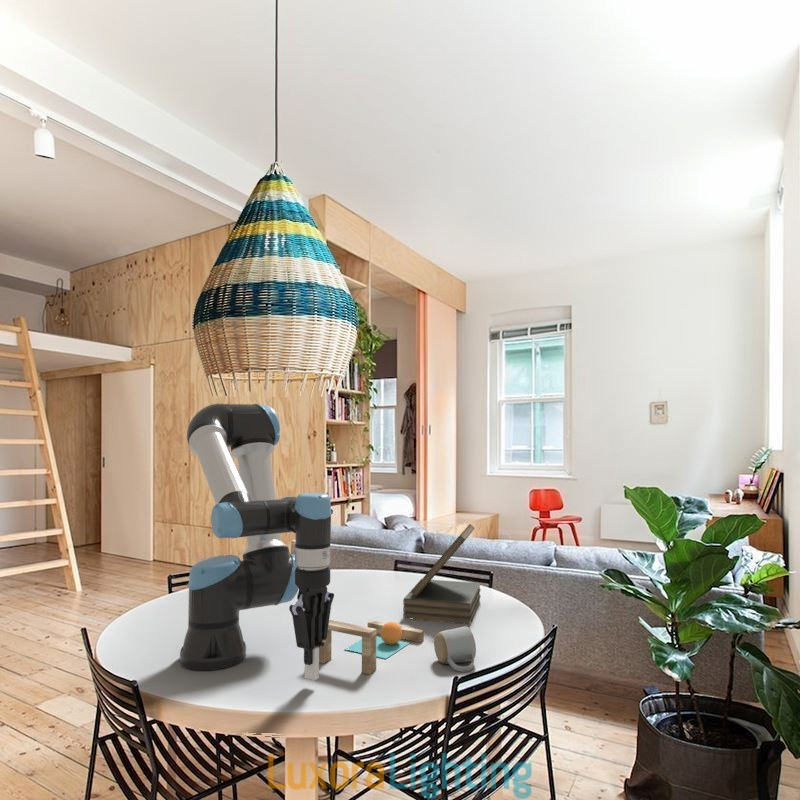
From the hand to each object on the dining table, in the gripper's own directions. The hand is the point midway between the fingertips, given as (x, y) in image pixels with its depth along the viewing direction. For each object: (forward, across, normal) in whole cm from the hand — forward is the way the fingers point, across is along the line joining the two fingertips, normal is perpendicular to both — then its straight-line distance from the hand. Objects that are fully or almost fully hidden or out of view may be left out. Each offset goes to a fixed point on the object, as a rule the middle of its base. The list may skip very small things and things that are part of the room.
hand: (311, 677), depth 130 cm
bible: (+3, +63, -1) cm, 63 cm away
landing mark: (+2, +27, 0) cm, 27 cm away
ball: (-1, +30, -2) cm, 30 cm away
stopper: (+2, +36, 0) cm, 36 cm away
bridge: (+2, +13, 0) cm, 13 cm away
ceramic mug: (+2, +27, -22) cm, 35 cm away
